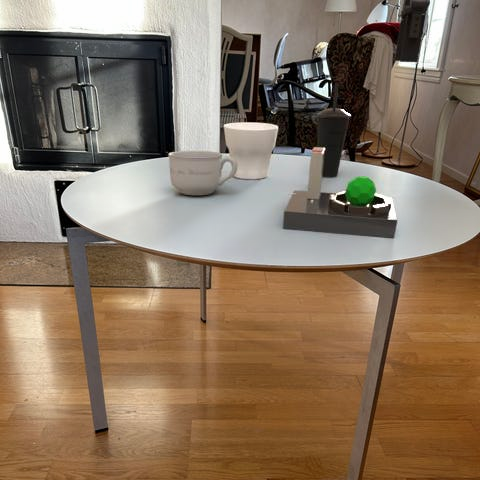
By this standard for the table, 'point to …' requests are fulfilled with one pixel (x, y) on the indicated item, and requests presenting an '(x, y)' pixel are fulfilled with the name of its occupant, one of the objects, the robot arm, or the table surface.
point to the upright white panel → (315, 173)
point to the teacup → (198, 171)
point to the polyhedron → (360, 191)
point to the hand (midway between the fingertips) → (405, 61)
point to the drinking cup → (332, 136)
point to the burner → (373, 209)
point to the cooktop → (334, 218)
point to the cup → (251, 147)
